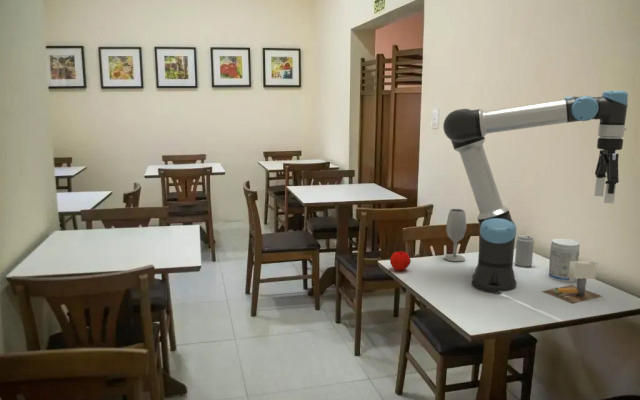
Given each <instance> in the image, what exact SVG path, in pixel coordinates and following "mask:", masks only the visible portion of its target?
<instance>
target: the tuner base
mask: <svg viewBox="0 0 640 400" xmlns="http://www.w3.org/2000/svg"><path fill="white" fill-rule="evenodd" d="M558 288H568V289H576V288H577V285H573V284H569V285H565V286H560V287H558V286H557V287H555V288H551V289H547V290H542V291H541V292H542V293H544V294H547V295H549V296H552V297H555V298H557V299H559V300H562V301H564V302H567V303H569V304H572V305H573V304H577V303H581V302H585V301H590V300H594V299H598V298H602V297H603V295H601V294H598V293H596V292H592V291H590V290H587V289H585V295H584V296H581V295H577V294H576V293H563V292H558Z"/></svg>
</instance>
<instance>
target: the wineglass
mask: <svg viewBox="0 0 640 400" xmlns="http://www.w3.org/2000/svg"><path fill="white" fill-rule="evenodd" d="M466 216H467V214H466V210H465V209H463V208H450V210H449V213H448V215H447V221H446V226H445V227H446V228H445V229H446V230H445V231H446V233H447V234H446V235H447V237H448V238H449V239H451V240H450V241H452V242H453V249H452V250H453V252H452V254H451V253H450V254H444V257H443V259H444V260H446V261H448V262H455V263H459V262H465V259H466V257H465V256H463V255H461V254H457V252H458V251H457V249H458V242H460V241H461V240H463V239H464V237H465V235H466V231H467V217H466Z"/></svg>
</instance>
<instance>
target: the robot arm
mask: <svg viewBox="0 0 640 400" xmlns="http://www.w3.org/2000/svg"><path fill="white" fill-rule="evenodd" d="M628 96H629V94H628V92H627V91H626V90H606V91H602V94H601V96H594V97H593V96H588V95H584V96H582V95H581V96H566V97H564V98H563V99H558V100H552V101H545V102H538V103H532V104H526V105H518V106H512V107H506V108H499V109H491V110H485V111H484V110H483V109H481V108H478V109H469V108H461V109H460V108H459V109H455V110H453V111H451V112H449V113H448V115H446V116H445V119H444V121H443V132H444V134H445V136H446V137H447V138H448V139H449V140H450V142H451V144H452V147H453V150H454V151H456V152H458V153H459V155H460V158H461V160H462V163H463V164H462V165H463V166H464V169H465V170H464V171H465V173H466V176H467V179H468V181H469V184H470V187H471V191H472V193H473V197H474V199H475V202H476V205H477V208H478V211H479V214H478V215H477V218H476V219H477V221H478V225H479V241H478V242H479V245H478V258H477V260H478V261H477V265H476V267H475V270H474V273H473V275H472V277H471V285H472V287H473V288H476V289H477V290H479V291H483V292H487V293H492V294H502V292H508V291H509V292H510V291H513V290H515V289H516V288H517V279H515V278H516V277H515V272H514V271H515V270H514V267H513V266H514V255H515V254H514V252H515V244H516V243H515V242H516V236H517V225H516V223H515V222H514V220H513V219H512V216H511V213H510V209H509V208H508V207H506V206H504V205H503V202H502V199H501V196H500V193H499V190H498V188H497V185H496V181H495V179H494V175H493V173H492V170H491V166H490V164H489V161H488V157H487V153H486V151H485V149H484V143H485V141H486V138H485V136H486V135H488V134H492V133H501V132H508V131H513V130H523V129H529V128H536V127H543V126H544V127H545V126H551V125H560V124H565V123H566V124H567V123H574V122H588V121H591V120H596V121H597V120H599V125H598V133H597V135H598V138H597V144H596V149H598V150H599V154H598V160H597V164H596V166H595V167H596V169H595V172H594V174H595V177H596V178H595V185H594V186H595V187H594V197H604V200H603V203H604V204H614V202H615V194H616V188H617V186H616V185H617V184H618V183H619V181H620V180H619V179H620V178H619V153H616V151H620V150H622V149H623V145H624V139H623V137H624V134H625V131H626V130H627V128H626V127H625V126H626V120H627V119H626V118H627V110H628V99H629V97H628Z"/></svg>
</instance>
